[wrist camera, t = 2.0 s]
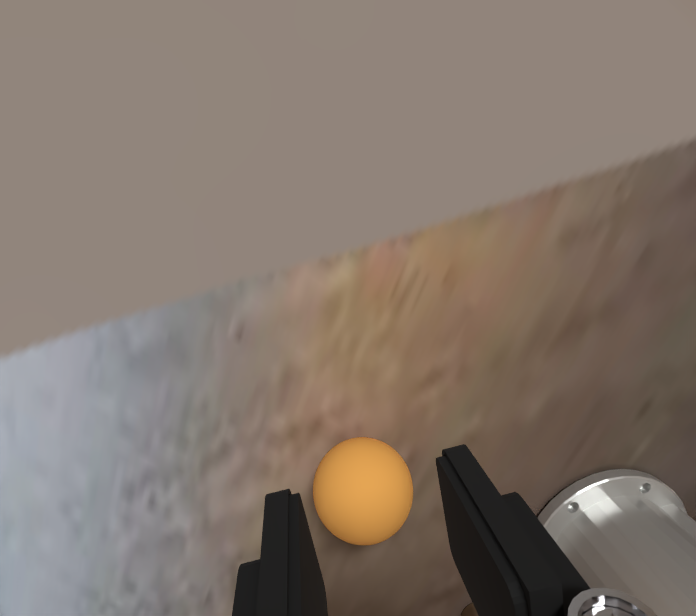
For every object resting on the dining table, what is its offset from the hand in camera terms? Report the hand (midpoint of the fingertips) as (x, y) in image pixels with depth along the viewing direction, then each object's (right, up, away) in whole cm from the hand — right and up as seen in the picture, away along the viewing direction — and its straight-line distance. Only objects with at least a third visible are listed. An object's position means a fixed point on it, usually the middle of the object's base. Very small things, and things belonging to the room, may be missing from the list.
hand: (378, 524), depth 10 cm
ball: (0, -6, +16) cm, 17 cm away
